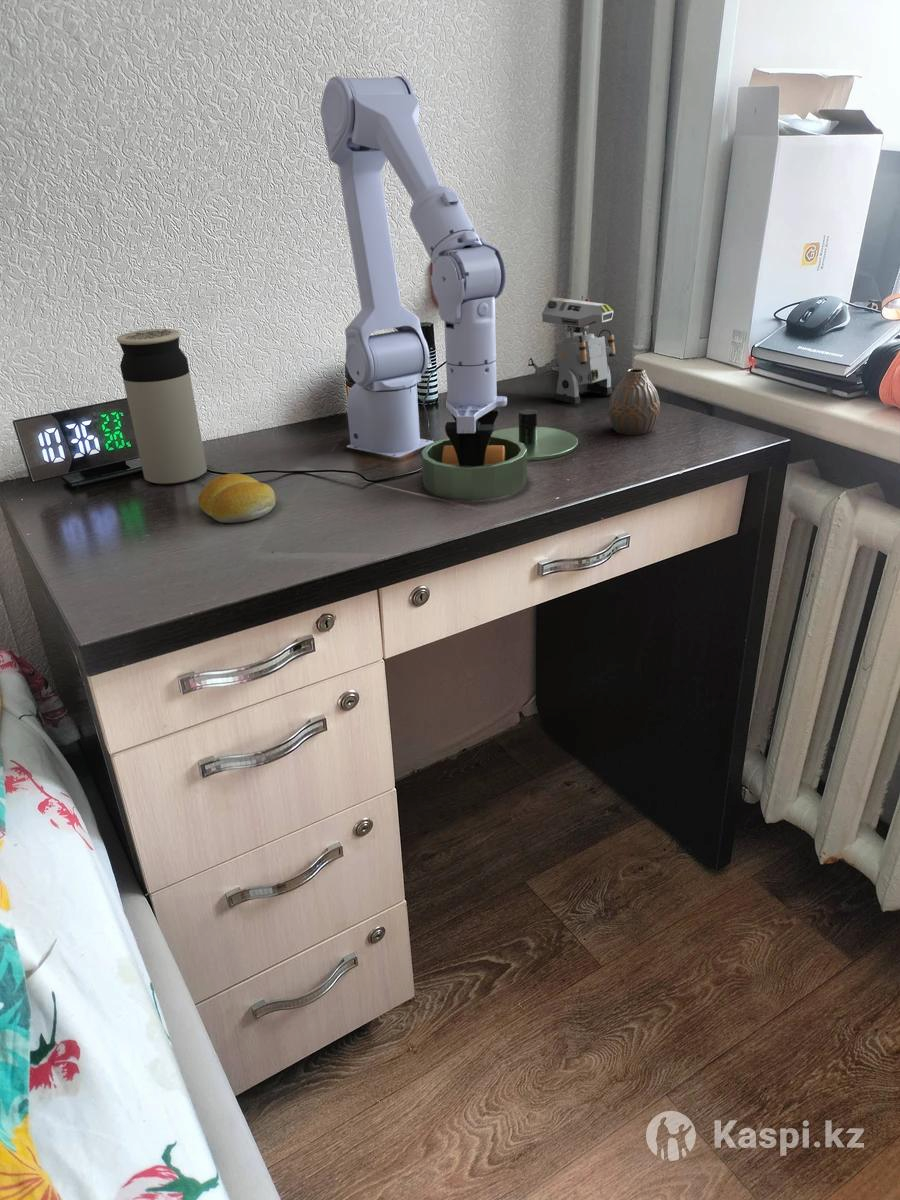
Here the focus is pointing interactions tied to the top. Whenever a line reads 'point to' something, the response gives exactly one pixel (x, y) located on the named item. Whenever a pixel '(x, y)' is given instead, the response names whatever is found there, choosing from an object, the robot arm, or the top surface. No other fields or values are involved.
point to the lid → (539, 438)
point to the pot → (475, 472)
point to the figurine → (579, 348)
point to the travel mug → (162, 406)
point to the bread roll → (236, 498)
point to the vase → (634, 404)
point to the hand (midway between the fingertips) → (474, 474)
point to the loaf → (492, 455)
